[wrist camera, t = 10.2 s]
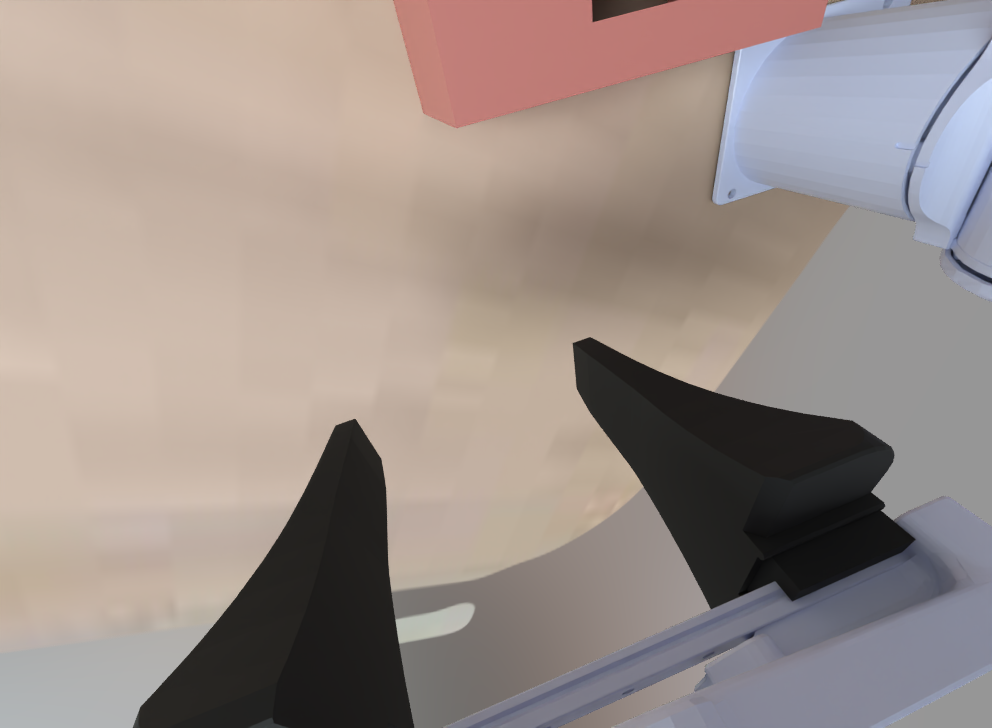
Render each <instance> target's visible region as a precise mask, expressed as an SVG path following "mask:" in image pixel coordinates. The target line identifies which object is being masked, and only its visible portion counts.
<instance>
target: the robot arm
mask: <svg viewBox="0 0 992 728" xmlns="http://www.w3.org/2000/svg"><path fill="white" fill-rule="evenodd" d="M911 1H912V0H843V1H839V2H835V3H832V4H828V5H827V6H826V10H825V14H824V17H823V21H822V25H821V27H819V28H816V29H812V30H809V31H805V32H801V33H798V34H794V35H790V36H787V37H783V38H780V39H776V40H772V41H769V42H765V43H762V44H758V45H754V46H751V47H747V48H744V49H740V50H736V51H735V55H734V62H733V68H732V74H731V81H730V87H729V94H728V100H727V107H726V113H725V119H724V126H723V132H722V139H721V145H720V151H719V158H718V164H717V171H716V177H715V184H714V190H713V196H712V201H713V203H715V204H718V205H723V204H726V203H730V202H733V201H736V200H739V199H742V198H745V197H748V196H751V195H754V194H758V193H761V192H764V191H767V190H770V189H773V188H780V189H784V190H788V191H792V192H796V193H800V194H804V195H809V196H813V197H817V198H821V199H825V200H829V201H833V202H837V203H841V204H845V205H849V206H853V207H857V208H861V209H865V210H869V211H873V212H877V213H882V214H885V215H889V216H894V217H898V218H902V219H906V220H910V221H914V222H916V229H915V233H914V236H913V240H915V241H918V242H922V243H926V244H929V245H933V246H936V247H940V248H943V249H942V251H941V254H940V266H941V268H942V270H943V271H944V273H945V274H946V275H947V276H948V277H949V278H950V279H951V280H952V281H953V282H955V283H956V284H957V285H959V286H960V287H962V288H964V289H965V290H967V291H969V292H971V293H973V294H975V295H977V296H979V297H981V298H983V299H985V300H988V301H990V302H992V0H944V1H937V2H930V3H923V4H916V5H910V3H911ZM730 191H731V192H730ZM729 192H730V194H729ZM728 194H729V195H728ZM573 351H574V362H575V374H576V385H577V390H578V392H579V394H580V395H581V397H582V399H583V401H584V403H585V404H586V406H587V408H588V410H589V411H590V413H591V414H592V416H593V417H594V418H595V420H596V421H597V423H598V424H599V425H600V427H601V428H602V429H603V431H604V432H605V433H606V435H607V436H608V437H609V438H610V440H611V441H612V442H613V444H614V445H615V446H616V448H617V449H618V450H619V452H620V453H621V454H622V456H623V457H624V458H625V460H626V461H627V462H628V464H629V465H630V466H631V468H632V469H633V471H634V472H635V474H636V475H637V477H638V478H639V480H640V481H641V483H642V485H643V486H644V488H645V490H646V491H647V493H648V495H649V496H650V498H651V500H652V501H653V503H654V505H655V506H656V508H657V510H658V511H659V513H660V515H661V517H662V518H663V520H664V522H665V524H666V525H667V527H668V529H669V531H670V532H671V534H672V536H673V538H674V540H675V542H676V543H677V545H678V547H679V549H680V551H681V552H682V554H683V556H684V558H685V560H686V562H687V563H688V565H689V567H690V569H691V571H692V573H693V575H694V577H695V579H696V581H697V583H698V585H699V586H700V588H701V590H702V592H703V594H704V596H705V598H706V600H707V602H708V604H709V606H710V608H711V610H709V611H706V612H704V613H702V614H700V615H697V616H695V617H693V618H690V619H688V620H686V621H684V622H681V623H679V624H677V625H675V626H672V627H670V628H668V629H665V630H663V631H661V632H659V633H656V634H654V635H652V636H650V637H647V638H645V639H643V640H641V641H638V642H636V643H634V644H631V645H629V646H627V647H624V648H622V649H620V650H618V651H616V652H613V653H611V654H609V655H606V656H604V657H602V658H599V659H597V660H595V661H593V662H590V663H588V664H586V665H584V666H582V667H579V668H577V669H574V670H572V671H570V672H568V673H565V674H563V675H561V676H559V677H556V678H554V679H552V680H549V681H547V682H545V683H543V684H540V685H538V686H536V687H533V688H531V689H529V690H527V691H524V692H522V693H520V694H518V695H516V696H513V697H511V698H509V699H506V700H504V701H502V702H499V703H497V704H495V705H493V706H490V707H488V708H486V709H484V710H481V711H479V712H477V713H474V714H472V715H470V716H468V717H465V718H463V719H461V720H458V721H456V722H454V723H452V724H449V725H447V726H445V727H443V728H558V727H560V726H562V725H565V724H567V723H569V722H571V721H573V720H575V719H578V718H580V717H582V716H584V715H586V714H589V713H591V712H593V711H595V710H598V709H600V708H602V707H604V706H606V705H609V704H611V703H613V702H615V701H617V700H620V699H622V698H624V697H626V696H628V695H631V694H633V693H635V692H637V691H639V690H642V689H644V688H646V687H648V686H650V685H653V684H655V683H657V682H659V681H661V680H664V679H666V678H668V677H670V676H672V675H675V674H677V673H679V672H681V671H683V670H686V669H688V668H690V667H692V666H694V665H697V664H699V663H701V662H703V661H705V660H708V659H710V658H712V657H714V656H716V655H719V654H721V653H723V652H725V651H727V650H730V649H731V650H730V651H728V652H726V653H725V654H723V655H721V656H720V657H718V658H717V659H715V660H713V661H712V662H710V663H708V664H707V665H706V666H705V672H706V675H705V677H704V678H703V679H702V680H701V681H700V682H699V683H698V684H697V685H696V686H695V692H693V693H691V694H688V695H686V696H683V697H681V698H678V699H676V700H674V701H671V702H669V703H666V704H664V705H661V706H659V707H657V708H654V709H652V710H649V711H647V712H645V713H642V714H640V715H638V716H636V717H633V718H631V719H629V720H627V721H624V722H622V723H619V724H618V725H616V726H613V727H611V728H885V727H887V726H888V725H890V724H892V723H894V722H896V721H898V720H900V719H901V718H903V717H905V716H907V715H909V714H911V713H913V712H915V711H917V710H918V709H920V708H922V707H924V706H926V705H927V704H930V703H931V702H933V701H935V700H937V699H939V698H941V697H943V696H945V695H946V694H948V693H950V692H952V691H954V690H956V689H958V688H960V687H961V686H963V685H965V684H967V683H969V682H971V681H973V680H974V679H976V678H978V677H980V676H982V675H984V674H986V673H987V672H989V671H991V670H992V526H990V525H989V524H987V523H986V522H984V521H983V520H982V519H980V518H979V517H978V516H976V515H975V514H973V513H972V512H970V511H969V510H967V509H966V508H964V507H963V506H962V505H960V504H959V503H957V502H956V501H955V500H953V499H952V498H950V497H947V496H942V497H939V498H937V499H935V500H933V501H930V502H928V503H926V504H923V505H921V506H919V507H917V508H914V509H912V510H910V511H908V512H906V513H904V514H902V515H900V516H899V517H897V518H896V519H895V520H894V521H893V520H891V519H890V518H889V517H888V516H886V514H884V513H883V512H882V511H881V510H882V509H883V508H884V507H885V504H884V502H883V501H881V500H880V499H879V498H878V497H876V496H875V495H874V494H872V493H871V491H872V490H873V488H874V487H875V486H876V485H877V483H878V482H879V481H880V480H881V478H882V477H883V476H884V474H885V473H886V472H887V471H888V469H889V467H890V466H891V464H892V463H893V459H894V451H893V449H892V448H891V446H889V445H888V444H886V443H885V442H883V441H882V440H880V439H879V438H877V437H876V436H874V435H873V434H871V433H870V432H868V431H867V430H866V429H864V428H863V427H861V426H860V425H858V424H857V423H855V422H853V421H850V420H843V419H837V418H830V417H823V416H816V415H810V414H803V413H798V412H793V411H788V410H783V409H777V408H773V407H767V406H764V405H759V404H755V403H751V402H747V401H743V400H740V399H736V398H732V397H728V396H725V395H722V394H718V393H715V392H712V391H709V390H706V389H703V388H700V387H697V386H694V385H691V384H688V383H686V382H683V381H681V380H678V379H676V378H673V377H671V376H668V375H666V374H664V373H661V372H659V371H657V370H654V369H652V368H650V367H648V366H646V365H644V364H641V363H639V362H637V361H635V360H633V359H631V358H629V357H627V356H625V355H623V354H621V353H620V352H618V351H616V350H614V349H612V348H610V347H608V346H606V345H604V344H602V343H600V342H599V341H597V340H595V339H593V338H591V337H589V338H586V339H584V340H581V341H578V342H575V343H573ZM734 647H735V648H734ZM732 648H733V649H732ZM133 728H414V724H413V719H412V714H411V709H410V703H409V698H408V693H407V688H406V683H405V677H404V671H403V665H402V659H401V654H400V648H399V642H398V635H397V628H396V622H395V615H394V608H393V601H392V593H391V585H390V577H389V566H388V540H387V502H386V485H385V478H384V472H383V466H382V461H381V458H380V456H379V455H378V453H377V452H376V450H375V449H374V447H373V445H372V444H371V442H370V441H369V439H368V438H367V436H366V435H365V433H364V431H363V430H362V428H361V427H360V425H359V424H358V422H357V421H356V419H353V420H350V421H347V422H344V423H342V424H339V425H336V426H335V428H334V430H333V432H332V434H331V436H330V439H329V441H328V443H327V445H326V447H325V450H324V452H323V454H322V456H321V458H320V460H319V463H318V465H317V467H316V469H315V471H314V473H313V475H312V477H311V479H310V481H309V483H308V485H307V487H306V489H305V491H304V493H303V495H302V497H301V499H300V501H299V502H298V504H297V506H296V508H295V510H294V512H293V513H292V515H291V517H290V519H289V521H288V522H287V524H286V526H285V527H284V529H283V531H282V532H281V534H280V536H279V537H278V539H277V540H276V542H275V543H274V545H273V546H272V548H271V549H270V551H269V553H268V554H267V556H266V557H265V559H264V560H263V561H262V563H261V564H260V566H259V567H258V568H257V570H256V571H255V572H254V574H253V575H252V577H251V578H250V579H249V581H248V582H247V583H246V585H245V586H244V587H243V589H242V590H241V592H240V593H239V594H238V596H237V597H236V598H235V600H234V601H233V602H232V603H231V605H230V606H229V607H228V608H227V610H226V611H225V612H224V613H223V615H222V616H221V617H220V618H219V620H218V621H217V622H216V623H215V624H214V626H213V627H212V628H211V629H210V630H209V632H208V633H207V634H206V635H205V636H204V638H203V639H202V640H201V641H200V642H199V643H198V645H197V646H196V647H195V648H194V649H193V650H192V651H191V653H190V654H189V655H188V656H187V657H186V658H185V659H184V661H183V662H182V663H181V664H180V665H179V666H178V667H177V668H176V669H175V670H174V671H173V673H172V674H171V675H170V676H169V677H168V678H167V679H166V680H165V681H164V682H163V683H162V685H161V686H160V687H159V688H158V689H157V690H156V691H155V692H154V693H153V694H152V695H151V697H150V698H149V699H148V700H147V701H146V702H145V703H144V704H143V705H142V706H141V707H140V710H139V713H138V715H137V718H136V720H135V723H134V726H133Z"/></svg>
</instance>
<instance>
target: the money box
mask: <svg viewBox="0 0 992 728" xmlns="http://www.w3.org/2000/svg"><path fill="white" fill-rule="evenodd" d="M393 1H394V5H395V8H396V12H397V16H398V20H399V23H400V27H401V31H402V35H403V38H404V42H405V46H406V49H407V53H408V57H409V61H410V64H411V68H412V72H413V75H414V79H415V83H416V87H417V90H418V94H419V98H420V101H421V105H422V109H423V113H424V114H426V115H428V116H430V117H433V118H435V119H437V120H439V121H442V122H444V123H446V124H448V125H450V126H453V127H455V128H459V127H462V126H466V125H469V124H473V123H477V122H480V121H484V120H488V119H491V118H495V117H498V116H502V115H506V114H509V113H513V112H516V111H520V110H524V109H527V108H531V107H534V106H538V105H542V104H545V103H549V102H552V101H556V100H560V99H563V98H567V97H570V96H574V95H578V94H581V93H585V92H589V91H592V90H596V89H599V88H603V87H607V86H610V85H614V84H617V83H621V82H625V81H628V80H632V79H635V78H639V77H643V76H646V75H650V74H653V73H657V72H661V71H664V70H668V69H671V68H675V67H679V66H682V65H686V64H689V63H693V62H697V61H700V60H704V59H708V58H711V57H715V56H718V55H722V54H726V53H729V52H733V51H736V50H740V49H744V48H747V47H751V46H754V45H758V44H762V43H765V42H769V41H772V40H776V39H780V38H783V37H787V36H790V35H794V34H798V33H801V32H805V31H809V30H812V29H816V28H819V27H821V25H822V21H823V17H824V14H825V10H826V6H827V2H828V0H668V3H666V4H662V5H658V6H654V7H650V8H646V9H642V10H639V11H635V12H631V13H627V14H623V15H619V16H615V17H611V18H607V19H604V20H600V21H596V22H592V0H393Z"/></svg>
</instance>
